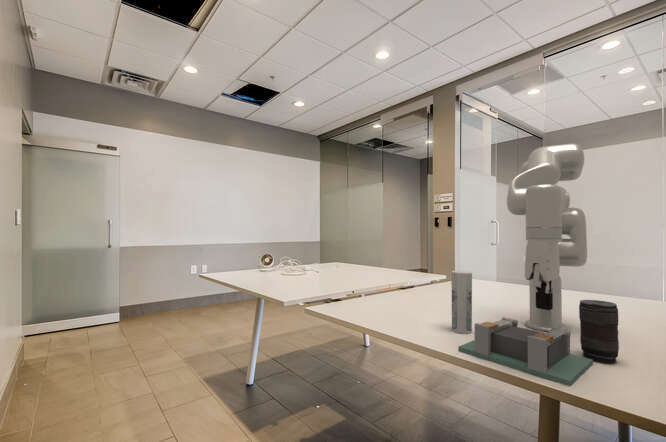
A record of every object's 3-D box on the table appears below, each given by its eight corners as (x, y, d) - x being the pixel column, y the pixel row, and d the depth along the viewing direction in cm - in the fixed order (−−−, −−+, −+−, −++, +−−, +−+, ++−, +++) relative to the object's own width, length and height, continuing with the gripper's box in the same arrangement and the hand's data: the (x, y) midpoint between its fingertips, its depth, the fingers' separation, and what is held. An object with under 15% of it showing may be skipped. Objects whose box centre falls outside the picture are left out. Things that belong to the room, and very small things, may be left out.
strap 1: (502, 322, 97) (502, 316, 97) (513, 325, 94) (513, 319, 94) (478, 330, 88) (479, 323, 88) (490, 333, 85) (490, 326, 85)
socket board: (489, 337, 102) (489, 310, 102) (592, 364, 82) (592, 330, 82) (458, 350, 90) (458, 320, 90) (569, 386, 70) (569, 346, 70)
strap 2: (552, 333, 86) (552, 326, 87) (566, 336, 84) (566, 329, 84) (531, 343, 77) (531, 336, 78) (546, 347, 75) (546, 339, 75)
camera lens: (580, 350, 91) (579, 297, 92) (618, 358, 86) (617, 302, 86) (579, 359, 85) (578, 302, 85) (620, 367, 80) (619, 307, 80)
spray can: (451, 327, 112) (451, 270, 113) (471, 329, 110) (471, 271, 111) (451, 332, 106) (451, 272, 107) (472, 335, 104) (472, 273, 105)
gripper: (537, 233, 87) (538, 301, 87) (514, 235, 78) (515, 310, 78) (570, 234, 81) (571, 306, 81) (550, 236, 72) (551, 317, 72)
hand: (544, 308), depth 79 cm, fingers closed
